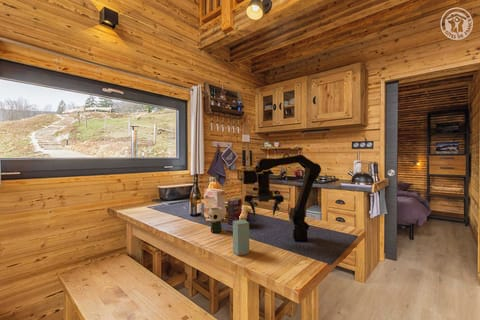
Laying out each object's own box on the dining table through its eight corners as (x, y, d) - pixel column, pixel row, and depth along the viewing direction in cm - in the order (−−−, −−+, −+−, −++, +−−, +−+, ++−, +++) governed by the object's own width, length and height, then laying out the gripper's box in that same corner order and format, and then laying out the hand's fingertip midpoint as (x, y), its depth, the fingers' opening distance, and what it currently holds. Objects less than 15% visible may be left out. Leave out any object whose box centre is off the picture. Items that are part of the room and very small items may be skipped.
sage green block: (244, 247, 102) (243, 219, 102) (249, 252, 97) (249, 222, 97) (233, 249, 100) (232, 220, 100) (238, 254, 95) (237, 224, 95)
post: (244, 248, 103) (244, 238, 103) (251, 253, 97) (250, 243, 97) (231, 250, 100) (231, 241, 100) (237, 256, 94) (237, 246, 94)
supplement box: (233, 227, 131) (233, 201, 131) (227, 226, 134) (227, 200, 134) (242, 224, 138) (242, 198, 138) (236, 222, 141) (235, 197, 141)
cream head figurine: (204, 232, 125) (204, 209, 125) (212, 228, 131) (211, 206, 131) (220, 235, 120) (220, 211, 119) (227, 231, 126) (227, 208, 126)
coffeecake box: (203, 217, 155) (203, 189, 154) (212, 215, 160) (211, 187, 159) (217, 221, 144) (216, 191, 144) (225, 219, 149) (225, 190, 149)
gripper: (243, 186, 103) (243, 219, 103) (284, 186, 101) (284, 220, 101) (245, 182, 114) (245, 213, 114) (282, 183, 112) (282, 214, 112)
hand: (264, 215), depth 110 cm, fingers open, 9 cm apart
